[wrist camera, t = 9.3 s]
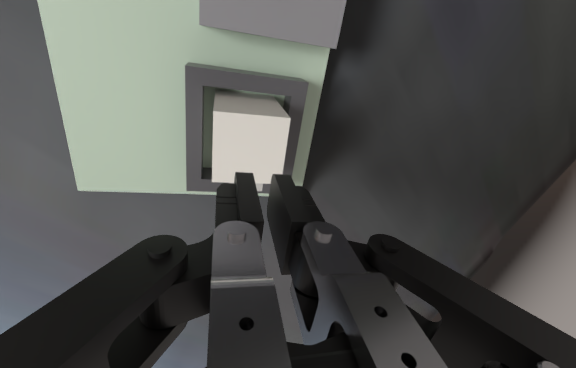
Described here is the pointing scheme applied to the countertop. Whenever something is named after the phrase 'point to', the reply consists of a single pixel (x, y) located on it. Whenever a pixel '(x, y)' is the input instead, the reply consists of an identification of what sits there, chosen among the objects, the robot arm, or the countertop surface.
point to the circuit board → (171, 77)
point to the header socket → (238, 80)
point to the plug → (248, 136)
